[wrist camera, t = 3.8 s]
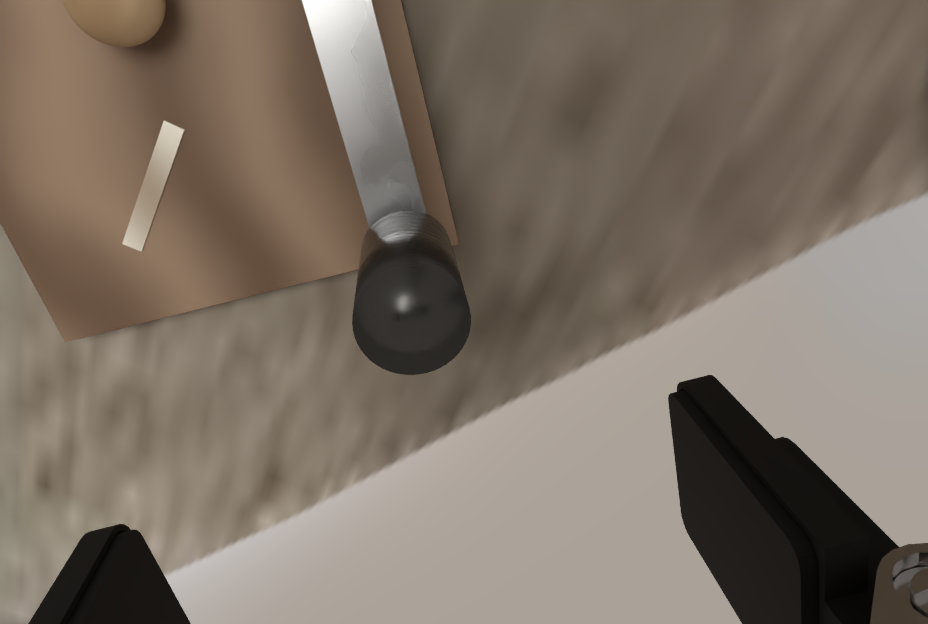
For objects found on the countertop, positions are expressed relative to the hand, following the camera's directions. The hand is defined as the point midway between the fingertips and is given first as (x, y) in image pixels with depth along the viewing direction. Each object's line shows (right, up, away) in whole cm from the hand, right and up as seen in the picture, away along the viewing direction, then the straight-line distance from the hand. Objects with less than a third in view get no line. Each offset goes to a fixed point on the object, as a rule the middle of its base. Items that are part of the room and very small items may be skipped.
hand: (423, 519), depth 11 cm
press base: (-11, +14, +15) cm, 23 cm away
